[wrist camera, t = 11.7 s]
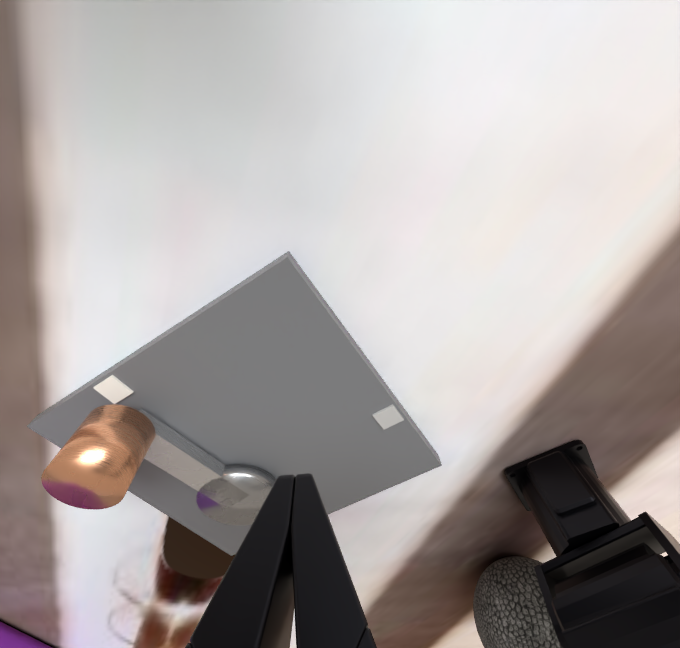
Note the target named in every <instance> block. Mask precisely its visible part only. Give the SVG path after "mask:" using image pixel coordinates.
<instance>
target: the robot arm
mask: <svg viewBox="0 0 680 648" xmlns="http://www.w3.org/2000/svg"><path fill="white" fill-rule="evenodd" d="M504 473H505V475H506V477H507V479H508V480H509V482H510V484H511V485H512V487H513V489H514V490H515V492H516V494H517V495H518V497H519V498H520V500H521V502H522V503H523V505H524V507H525V508H526V510H527V511H532V513H533V514H534V516H535V518H536V520H537V522H538V524H539V525H540V527H541V529H542V531H543V533H544V534H545V536H546V538H547V540H548V542H549V543H550V545H551V547H552V549H553V551H554V553H555V554H556V556H557V557H556V558H554V559H551V560H549V561H547V562H545V563H543V564H541V563H540V564H538V565H536V566H534V569H535V572H536V575H537V578H538V579H537V581H538V584H539V587H540V590H541V592H542V595H543V598H544V601H545V604H546V607H547V610H548V613H549V616H550V618H551V621H552V624H553V627H554V630H555V633H556V636H557V638H558V641H559V644H560V647H561V648H680V544H679V543H678V542H677V541H676V539H675V538H674V537H673V536H672V535H671V534H670V533H669V532H668V531H667V530H665V529H664V528H663V527H662V526H661V525H660V524H659V523H658V522H657V521H656V520H654V519H653V518H652V517H651V516H650V515H649V514H648V513H647V512H644V513H642V514H640V515H638V516H639V517H638V518H636V519H634V520H632V521H631V520H630V518H629V517H628V516H627V515H626V513H625V512H624V511H623V510H622V508H621V507H620V506H619V504H618V503H617V502H616V501H615V499H614V498H613V497H612V496H611V494H610V493H609V492H608V491H607V489H606V488H605V487H604V485H603V484H602V483H601V482H600V480H599V479H598V477H597V474H596V471H595V469H594V466H593V464H592V461H591V458H590V456H589V453H588V450H587V448H586V446H585V444H584V443H583V442H582V441H581V440H576V441H573V442H571V443H568V444H566V445H563V446H561V447H558V448H556V449H553V450H551V451H549V452H546V453H544V454H541V455H539V456H536V457H534V458H531V459H529V460H527V461H524V462H522V463H519V464H517V465H514V466H512V467H509V468H507V469H506V470H505V472H504ZM664 552H667V554H668V556H665V557H663V556H662V555H660V554H662V553H664ZM294 608H295V626H296V645H297V648H377V647H376V644H375V642H374V639H373V636H372V633H371V631H370V629H369V628H368V623H367V620H366V618H365V615H364V612H363V609H362V607H361V604H360V601H359V599H358V596H357V593H356V590H355V588H354V585H353V582H352V580H351V577H350V574H349V572H348V569H347V566H346V563H345V561H344V558H343V555H342V553H341V550H340V547H339V544H338V542H337V539H336V536H335V534H334V531H333V528H332V525H331V523H330V520H329V517H328V515H327V512H326V509H325V506H324V504H323V501H322V498H321V496H320V493H319V490H318V487H317V485H316V482H315V479H314V477H313V475H312V474H311V473H307V474H298V475H296V477H295V475H280V476H279V477H278V478H277V479H276V481H275V483H274V484H273V486H272V488H271V490H270V492H269V494H268V496H267V497H266V499H265V501H264V503H263V505H262V507H261V508H260V510H259V512H258V514H257V516H256V518H255V520H254V521H253V523H252V525H251V527H250V529H249V531H248V533H247V534H246V536H245V538H244V540H243V542H242V544H241V545H240V547H239V549H238V551H237V553H236V555H235V557H234V558H233V560H232V562H231V564H230V566H229V568H228V570H227V571H226V573H225V575H224V577H223V579H222V581H221V582H220V584H219V586H218V588H217V590H216V592H215V594H214V595H213V597H212V599H211V601H210V603H209V605H208V607H207V608H206V610H205V612H204V614H203V616H202V618H201V619H200V621H199V623H198V625H197V627H196V629H195V631H194V632H193V634H192V636H191V638H190V642H191V643H188V644H187V645H186V647H185V648H290V640H291V631H292V622H293V614H294Z"/></svg>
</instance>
